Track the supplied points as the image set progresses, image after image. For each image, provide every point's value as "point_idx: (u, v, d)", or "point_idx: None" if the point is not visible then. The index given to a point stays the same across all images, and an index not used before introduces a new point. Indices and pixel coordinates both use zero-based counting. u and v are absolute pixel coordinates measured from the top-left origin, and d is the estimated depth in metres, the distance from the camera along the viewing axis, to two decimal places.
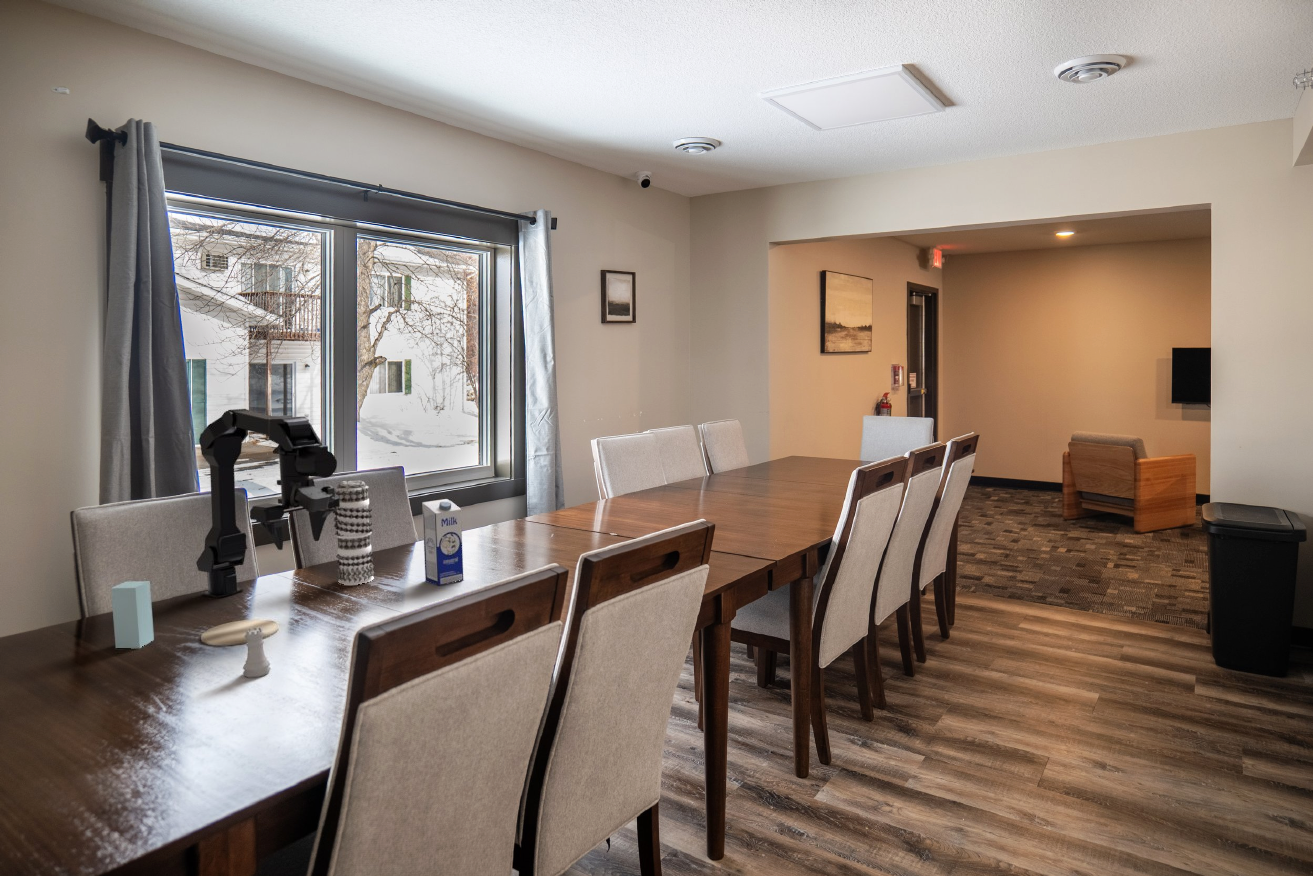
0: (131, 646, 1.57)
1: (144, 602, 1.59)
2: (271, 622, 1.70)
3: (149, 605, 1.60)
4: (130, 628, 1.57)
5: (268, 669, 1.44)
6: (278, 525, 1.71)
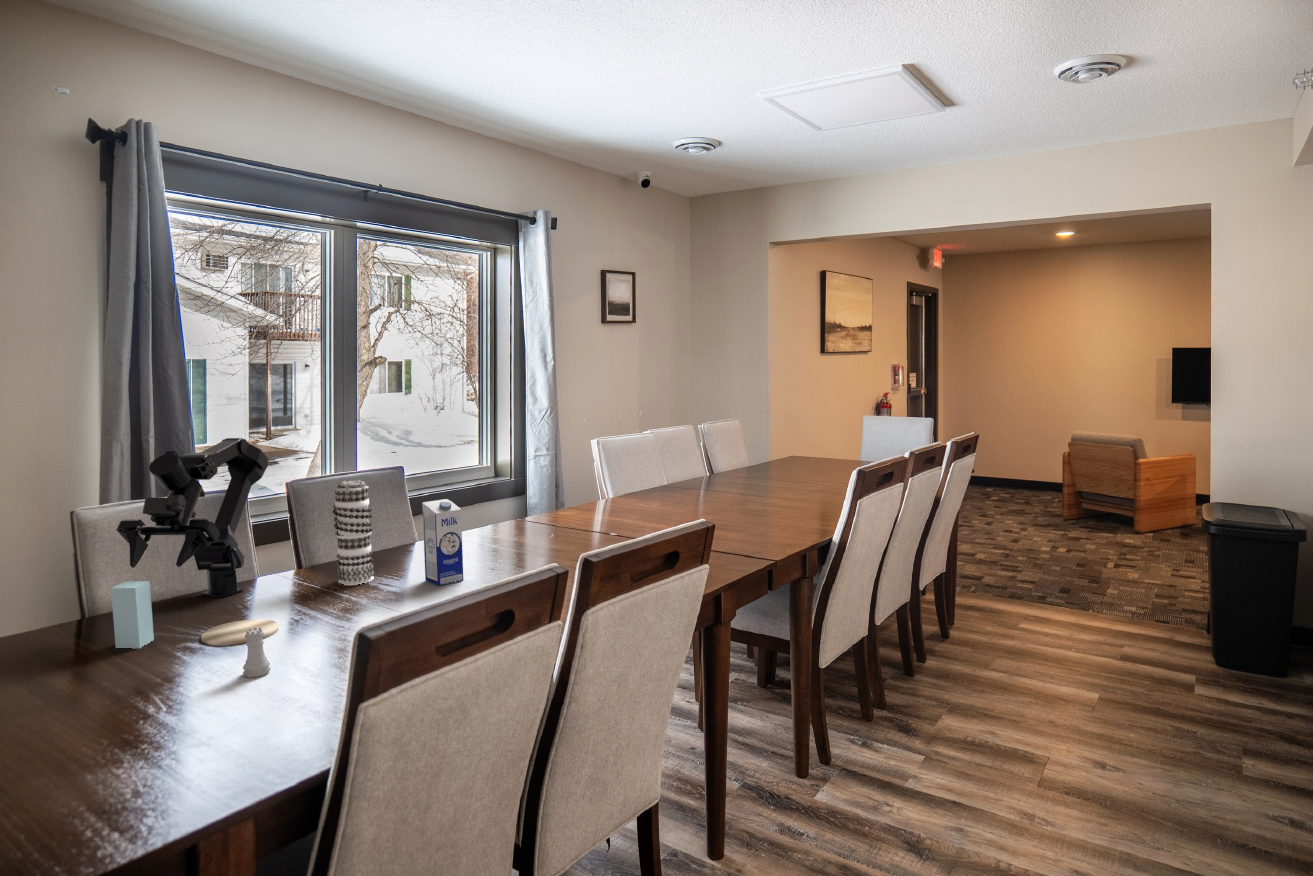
0: (131, 646, 1.57)
1: (144, 602, 1.59)
2: (271, 622, 1.70)
3: (149, 605, 1.60)
4: (130, 628, 1.57)
5: (268, 669, 1.44)
6: (130, 538, 1.68)
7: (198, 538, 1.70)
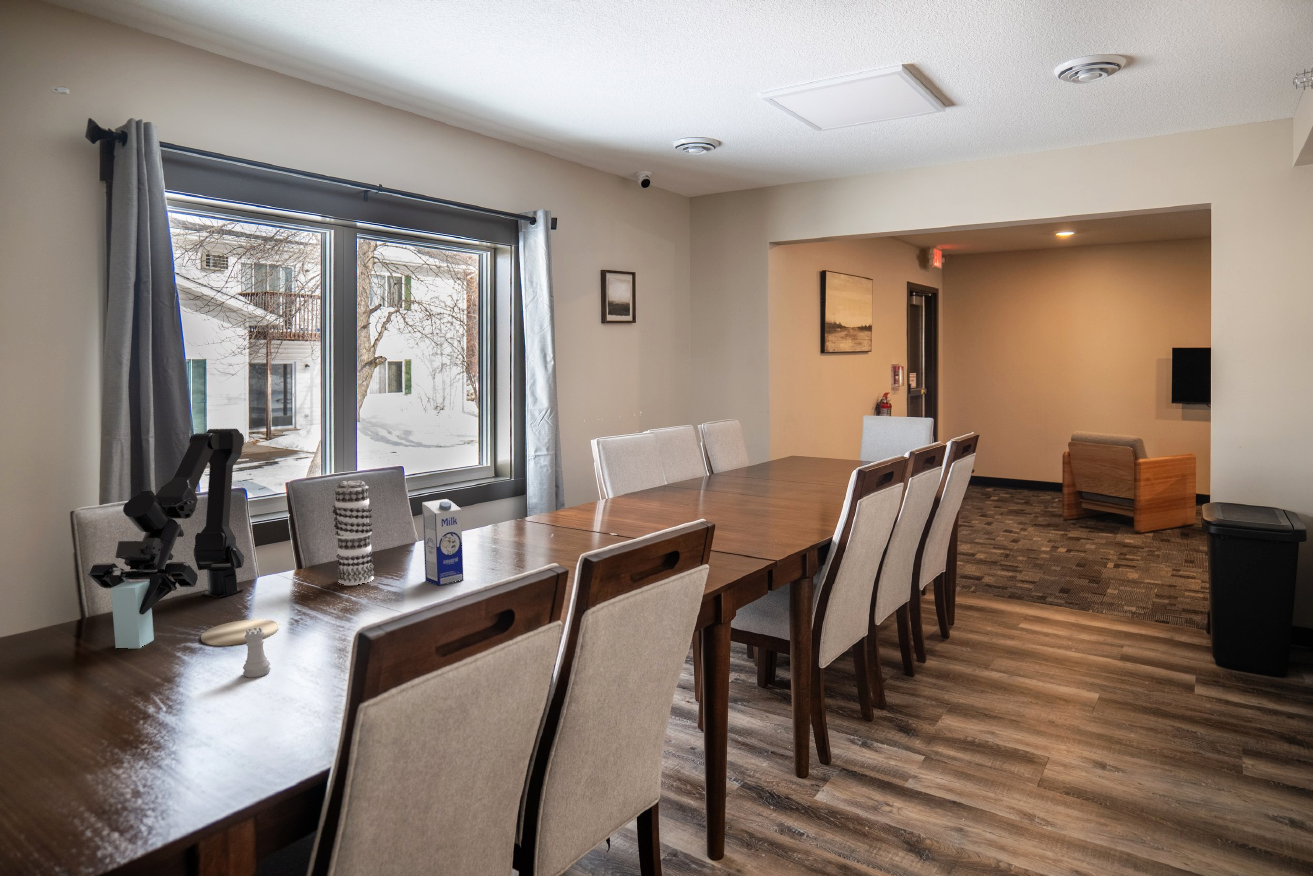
0: (131, 646, 1.57)
1: None
2: (271, 622, 1.70)
3: None
4: (130, 628, 1.57)
5: (268, 669, 1.44)
6: (114, 583, 1.59)
7: (164, 583, 1.61)
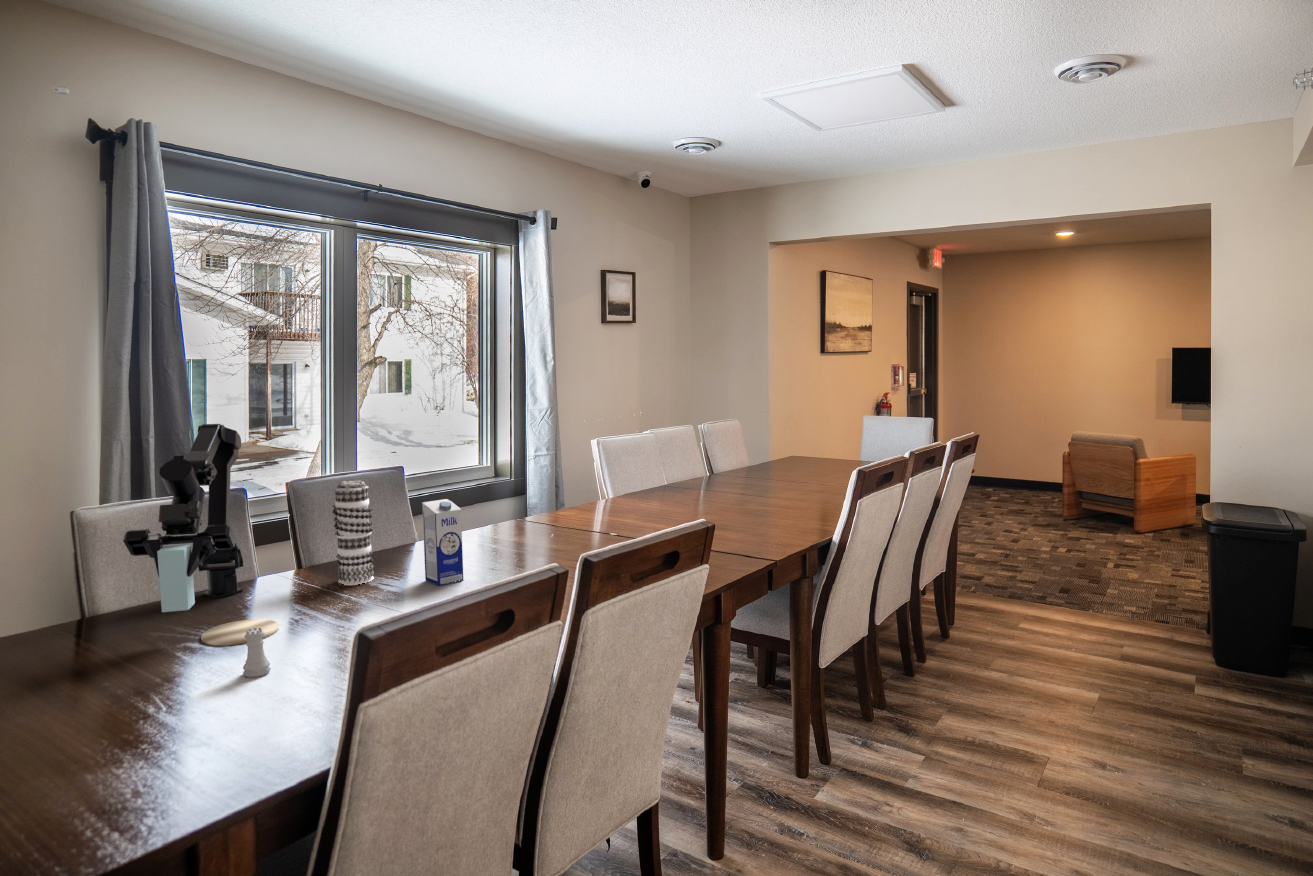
0: (179, 608, 1.58)
1: None
2: (271, 622, 1.70)
3: None
4: (178, 590, 1.57)
5: (268, 669, 1.44)
6: (154, 548, 1.59)
7: (205, 545, 1.63)
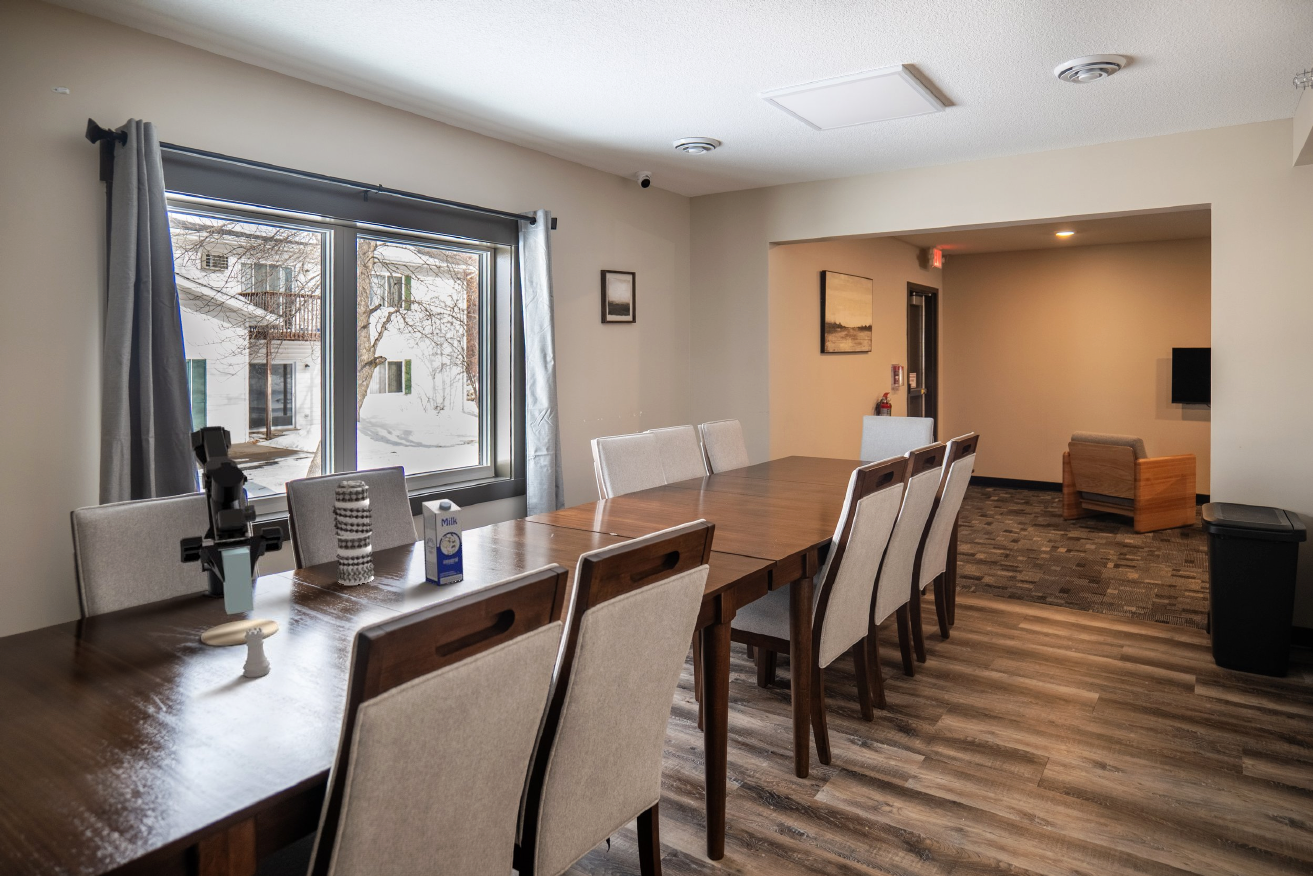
0: (244, 609, 1.63)
1: None
2: (271, 622, 1.70)
3: None
4: (243, 592, 1.62)
5: (268, 669, 1.44)
6: (212, 553, 1.62)
7: (259, 548, 1.68)
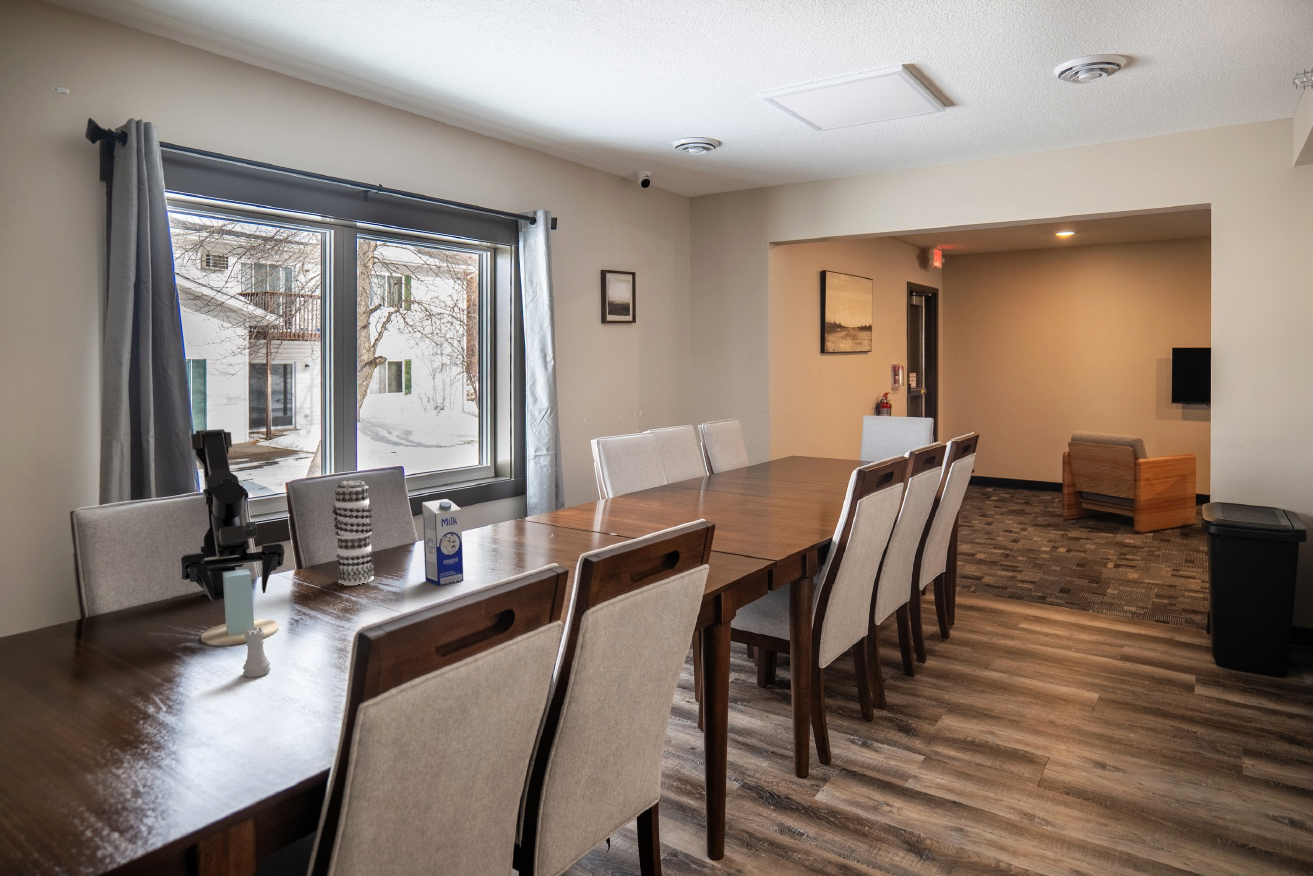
0: (245, 631, 1.63)
1: None
2: (271, 622, 1.70)
3: None
4: (245, 613, 1.63)
5: (268, 669, 1.44)
6: (201, 571, 1.61)
7: (271, 563, 1.70)
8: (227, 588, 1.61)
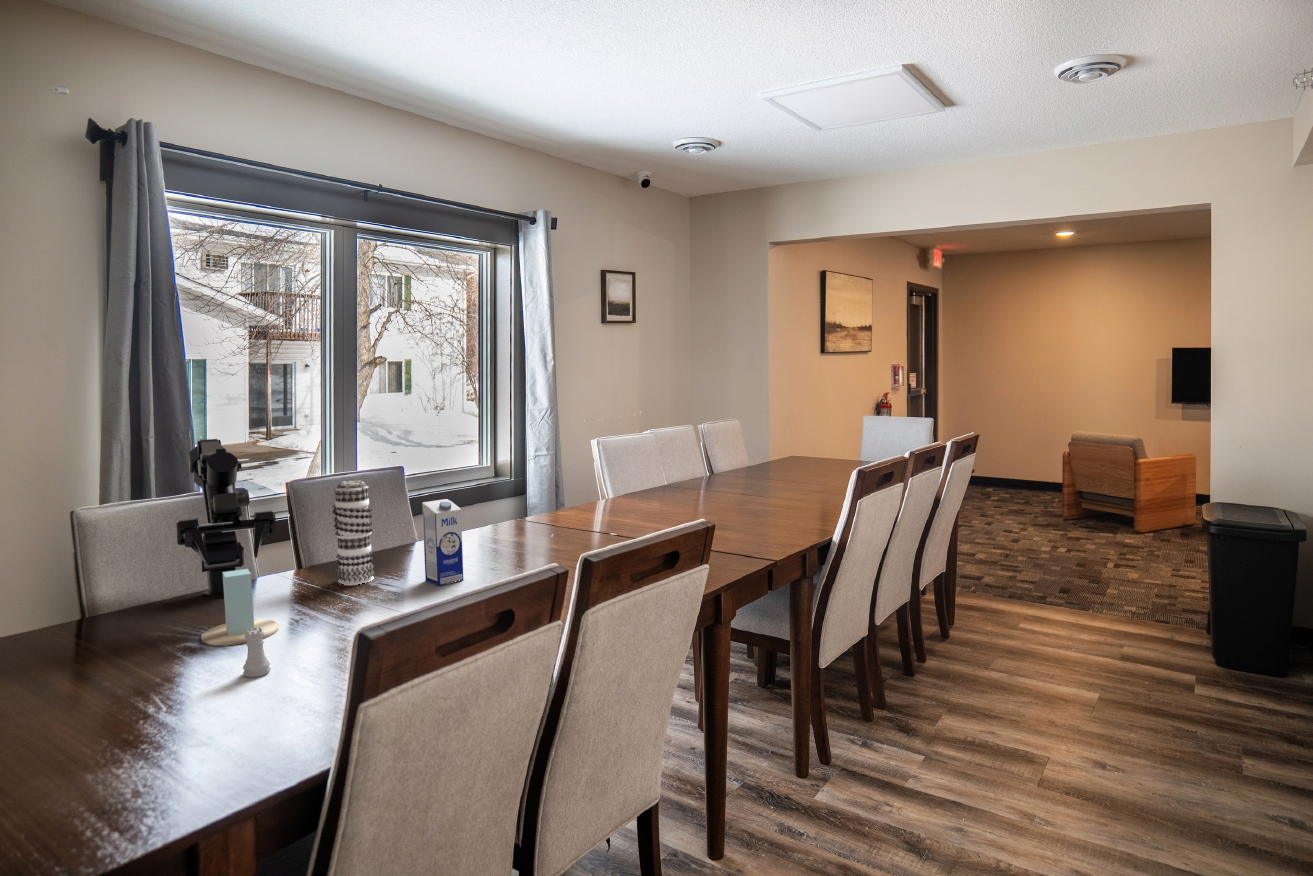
0: (245, 631, 1.63)
1: None
2: (271, 622, 1.70)
3: None
4: (245, 613, 1.63)
5: (268, 669, 1.44)
6: (196, 536, 1.69)
7: (263, 530, 1.77)
8: (227, 588, 1.61)
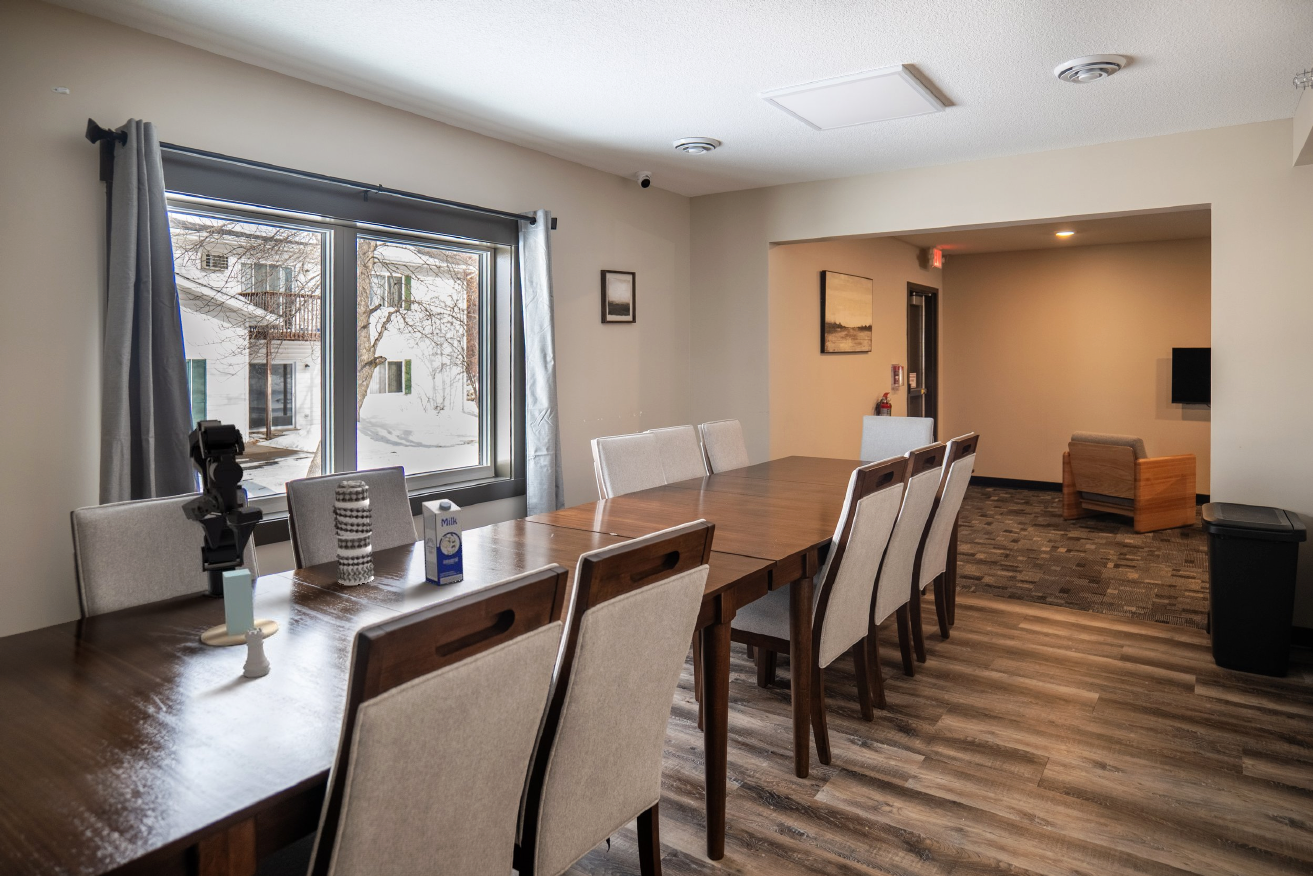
0: (245, 631, 1.63)
1: None
2: (271, 622, 1.70)
3: None
4: (245, 613, 1.63)
5: (268, 669, 1.44)
6: (200, 524, 1.81)
7: None
8: (227, 588, 1.61)
